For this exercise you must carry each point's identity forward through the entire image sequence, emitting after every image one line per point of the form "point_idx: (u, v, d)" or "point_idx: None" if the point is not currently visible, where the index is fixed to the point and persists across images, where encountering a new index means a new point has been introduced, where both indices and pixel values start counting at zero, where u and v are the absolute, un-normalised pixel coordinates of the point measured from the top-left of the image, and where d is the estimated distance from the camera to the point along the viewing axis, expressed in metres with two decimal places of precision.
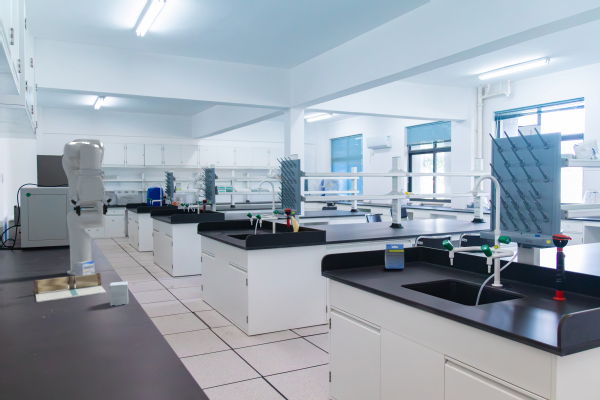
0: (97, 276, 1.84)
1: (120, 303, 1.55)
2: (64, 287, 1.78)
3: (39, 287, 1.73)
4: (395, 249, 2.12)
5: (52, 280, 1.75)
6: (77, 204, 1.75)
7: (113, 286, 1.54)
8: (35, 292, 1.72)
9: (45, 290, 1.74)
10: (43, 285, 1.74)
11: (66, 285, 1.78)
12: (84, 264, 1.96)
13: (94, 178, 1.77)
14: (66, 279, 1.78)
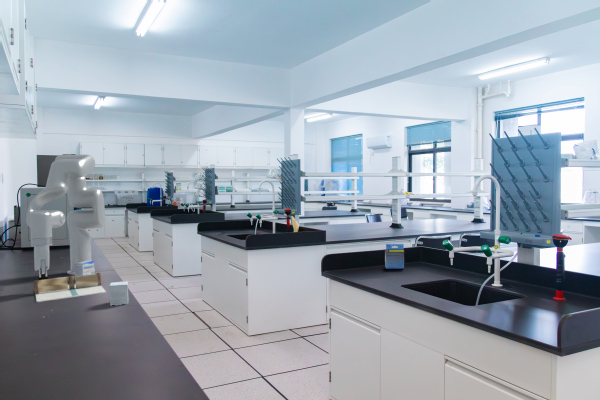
0: (97, 276, 1.84)
1: (120, 303, 1.55)
2: (64, 287, 1.78)
3: (39, 287, 1.73)
4: (395, 249, 2.12)
5: (52, 280, 1.75)
6: (46, 275, 1.76)
7: (113, 286, 1.54)
8: (35, 292, 1.72)
9: (45, 290, 1.74)
10: (43, 285, 1.74)
11: (66, 285, 1.78)
12: (84, 264, 1.96)
13: None
14: (66, 279, 1.78)
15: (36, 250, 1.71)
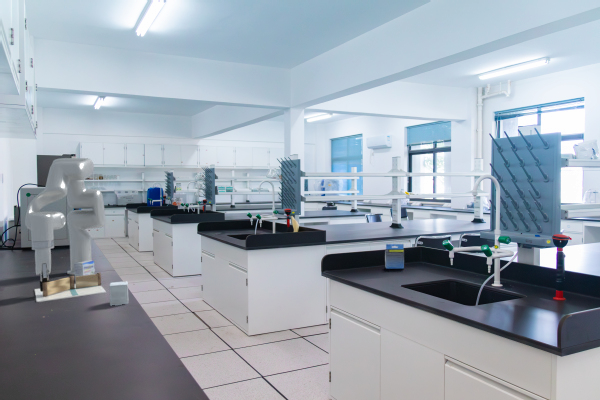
0: (97, 276, 1.84)
1: (120, 303, 1.55)
2: (67, 287, 1.77)
3: (48, 289, 1.69)
4: (395, 249, 2.12)
5: (58, 281, 1.73)
6: None
7: (113, 286, 1.54)
8: (45, 295, 1.67)
9: (53, 292, 1.71)
10: (51, 287, 1.70)
11: (68, 285, 1.78)
12: (84, 264, 1.96)
13: None
14: (68, 279, 1.78)
15: (37, 253, 1.66)
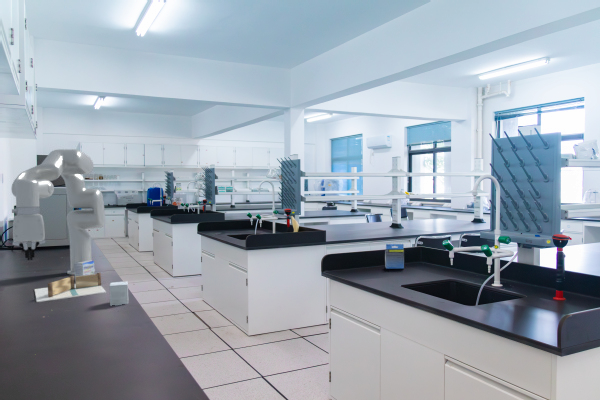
0: (97, 276, 1.84)
1: (120, 303, 1.55)
2: (68, 287, 1.77)
3: (53, 289, 1.68)
4: (395, 249, 2.12)
5: (61, 281, 1.73)
6: None
7: (113, 286, 1.54)
8: (51, 295, 1.67)
9: (57, 292, 1.70)
10: (56, 287, 1.70)
11: (69, 285, 1.78)
12: (84, 264, 1.96)
13: None
14: (69, 279, 1.78)
15: (41, 218, 1.65)
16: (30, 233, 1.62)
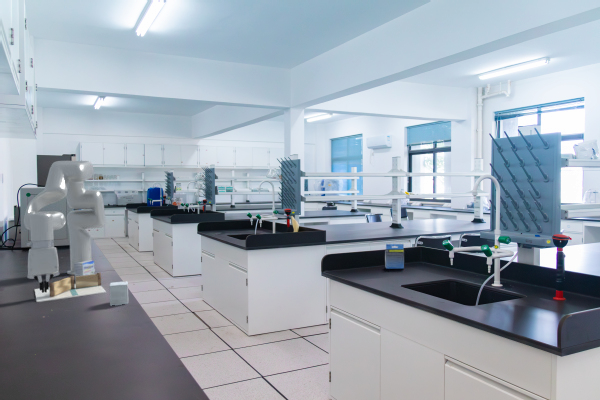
0: (97, 276, 1.84)
1: (120, 303, 1.55)
2: (69, 287, 1.77)
3: (55, 289, 1.68)
4: (395, 249, 2.12)
5: (62, 281, 1.73)
6: None
7: (113, 286, 1.54)
8: (53, 295, 1.67)
9: (58, 292, 1.70)
10: (57, 287, 1.69)
11: (70, 285, 1.78)
12: (84, 264, 1.96)
13: None
14: (70, 279, 1.78)
15: (55, 251, 1.67)
16: (44, 266, 1.65)
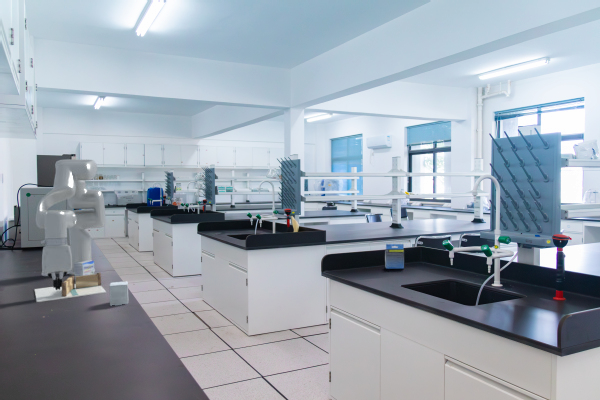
0: (97, 276, 1.84)
1: (120, 303, 1.55)
2: (71, 287, 1.77)
3: (66, 289, 1.69)
4: (395, 249, 2.12)
5: (69, 281, 1.73)
6: None
7: (113, 286, 1.54)
8: (65, 294, 1.67)
9: (67, 292, 1.71)
10: (67, 287, 1.70)
11: (72, 285, 1.78)
12: (84, 264, 1.96)
13: None
14: None
15: (69, 249, 1.70)
16: (58, 263, 1.67)
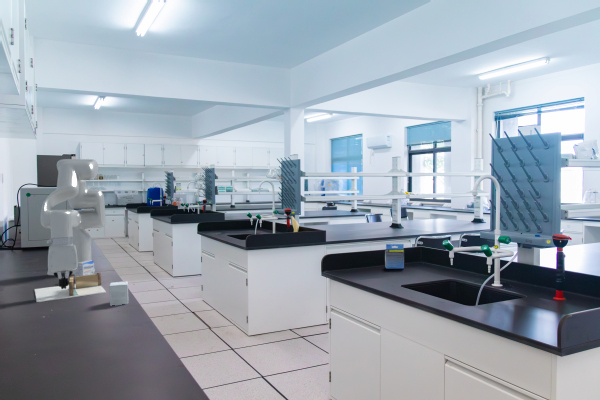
0: (97, 276, 1.84)
1: (120, 303, 1.55)
2: None
3: None
4: (395, 249, 2.12)
5: (72, 280, 1.74)
6: None
7: (113, 286, 1.54)
8: (73, 293, 1.68)
9: None
10: None
11: None
12: (84, 264, 1.95)
13: None
14: None
15: (75, 248, 1.71)
16: (64, 263, 1.68)
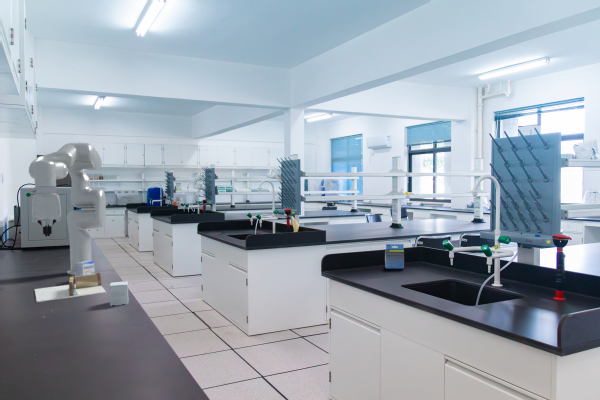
0: (97, 276, 1.84)
1: (120, 303, 1.55)
2: None
3: None
4: (395, 249, 2.12)
5: None
6: None
7: (113, 286, 1.54)
8: (73, 293, 1.68)
9: None
10: None
11: None
12: (84, 264, 1.96)
13: None
14: None
15: (58, 197, 1.76)
16: (48, 211, 1.74)
